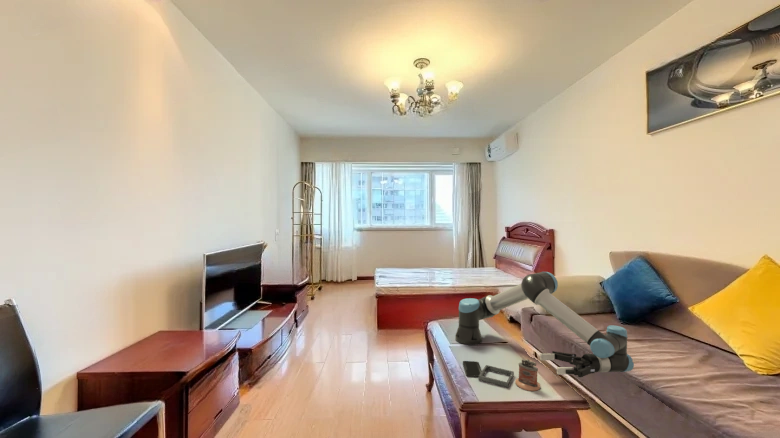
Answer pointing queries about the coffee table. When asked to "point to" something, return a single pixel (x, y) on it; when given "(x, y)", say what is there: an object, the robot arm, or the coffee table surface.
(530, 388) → the coaster
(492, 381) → the holder frame
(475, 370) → the phone
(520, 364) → the lighter
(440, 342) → the coffee table surface
